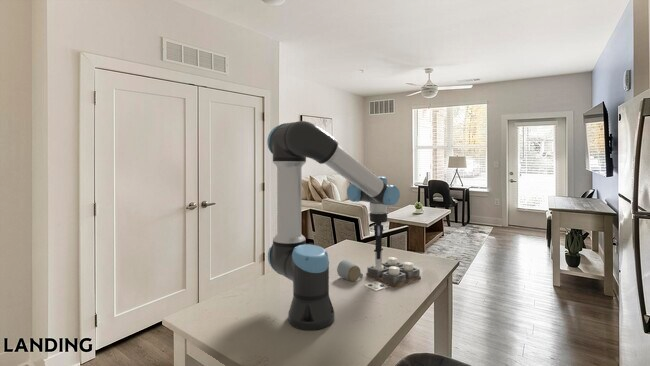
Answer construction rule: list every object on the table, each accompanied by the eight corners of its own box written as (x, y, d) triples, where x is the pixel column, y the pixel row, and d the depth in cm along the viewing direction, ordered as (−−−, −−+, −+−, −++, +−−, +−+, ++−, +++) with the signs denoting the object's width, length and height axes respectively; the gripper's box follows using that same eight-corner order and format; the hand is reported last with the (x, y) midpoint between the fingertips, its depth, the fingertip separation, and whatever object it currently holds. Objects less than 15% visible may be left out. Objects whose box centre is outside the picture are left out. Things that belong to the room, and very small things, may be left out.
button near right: (394, 278, 136) (394, 270, 135) (386, 275, 139) (386, 267, 139) (401, 276, 138) (401, 268, 138) (393, 273, 142) (393, 265, 142)
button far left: (392, 268, 148) (392, 260, 148) (385, 265, 152) (385, 258, 151) (399, 266, 151) (399, 258, 151) (392, 263, 154) (392, 256, 154)
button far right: (408, 273, 141) (408, 266, 141) (400, 271, 145) (400, 263, 144) (415, 271, 144) (415, 263, 143) (407, 268, 147) (407, 261, 147)
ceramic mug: (348, 284, 138) (348, 266, 138) (336, 278, 145) (336, 261, 144) (367, 278, 144) (367, 261, 144) (354, 273, 151) (355, 256, 150)
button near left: (378, 276, 143) (378, 268, 143) (371, 273, 147) (371, 265, 146) (385, 273, 146) (385, 266, 145) (378, 271, 149) (378, 263, 149)
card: (376, 291, 131) (376, 289, 131) (363, 285, 136) (363, 284, 136) (388, 286, 135) (388, 285, 135) (376, 281, 140) (376, 280, 140)
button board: (395, 287, 134) (395, 278, 133) (366, 275, 147) (366, 267, 147) (420, 278, 143) (420, 269, 143) (390, 268, 157) (391, 259, 157)
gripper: (387, 215, 137) (387, 270, 139) (386, 209, 150) (386, 261, 152) (369, 214, 138) (369, 270, 140) (369, 209, 151) (370, 260, 153)
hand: (378, 265), depth 146 cm, fingers closed
